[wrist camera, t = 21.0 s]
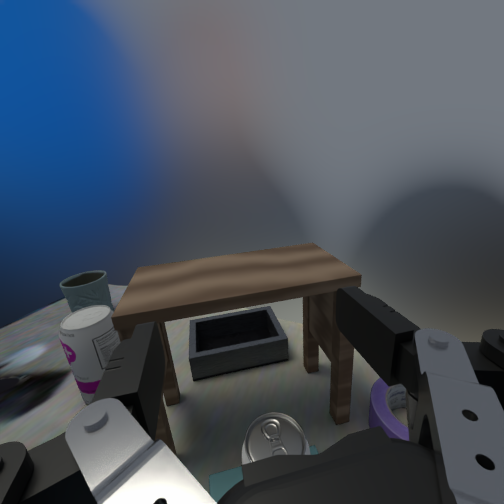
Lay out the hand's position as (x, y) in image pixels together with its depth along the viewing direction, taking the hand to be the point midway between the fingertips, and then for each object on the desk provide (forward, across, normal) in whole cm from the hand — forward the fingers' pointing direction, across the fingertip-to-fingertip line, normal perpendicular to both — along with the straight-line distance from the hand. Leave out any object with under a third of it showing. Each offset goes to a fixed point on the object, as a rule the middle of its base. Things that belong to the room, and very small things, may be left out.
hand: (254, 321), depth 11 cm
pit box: (+35, +2, -30) cm, 46 cm away
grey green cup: (+58, -32, -30) cm, 73 cm away
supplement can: (+32, -22, -30) cm, 49 cm away
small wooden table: (+21, +2, -30) cm, 36 cm away
